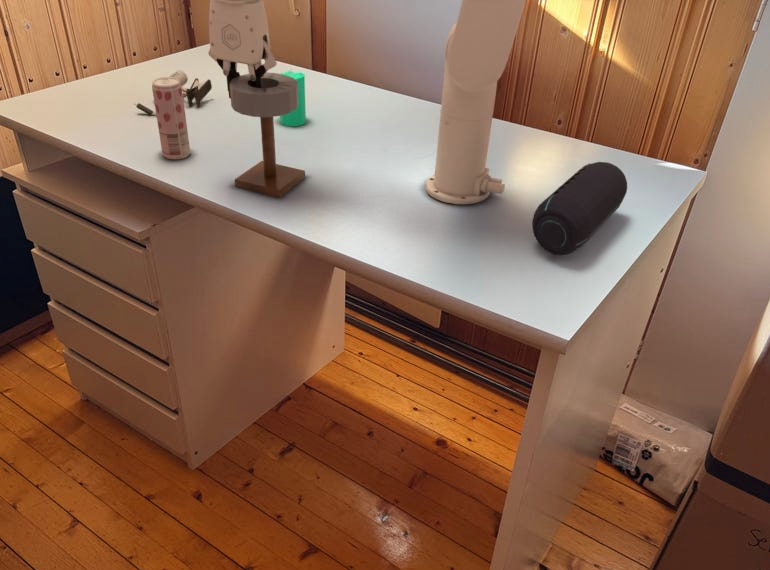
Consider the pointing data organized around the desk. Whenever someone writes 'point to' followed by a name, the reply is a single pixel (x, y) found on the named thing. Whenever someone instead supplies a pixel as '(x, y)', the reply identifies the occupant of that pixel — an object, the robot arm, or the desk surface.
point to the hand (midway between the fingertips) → (245, 97)
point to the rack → (269, 168)
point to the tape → (264, 95)
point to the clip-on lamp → (186, 90)
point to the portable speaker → (579, 208)
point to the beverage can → (171, 117)
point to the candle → (299, 114)
